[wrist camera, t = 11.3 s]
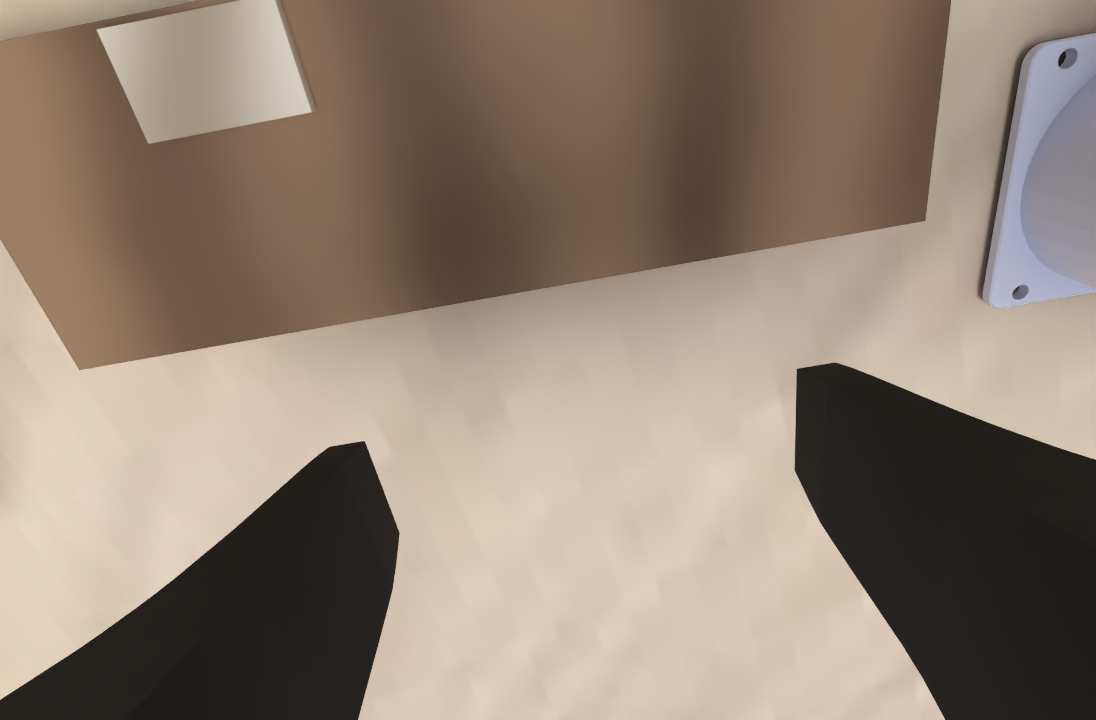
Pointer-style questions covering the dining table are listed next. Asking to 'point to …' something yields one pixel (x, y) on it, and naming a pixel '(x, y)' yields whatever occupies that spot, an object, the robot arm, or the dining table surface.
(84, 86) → the walnut fence board
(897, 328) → the dining table surface
